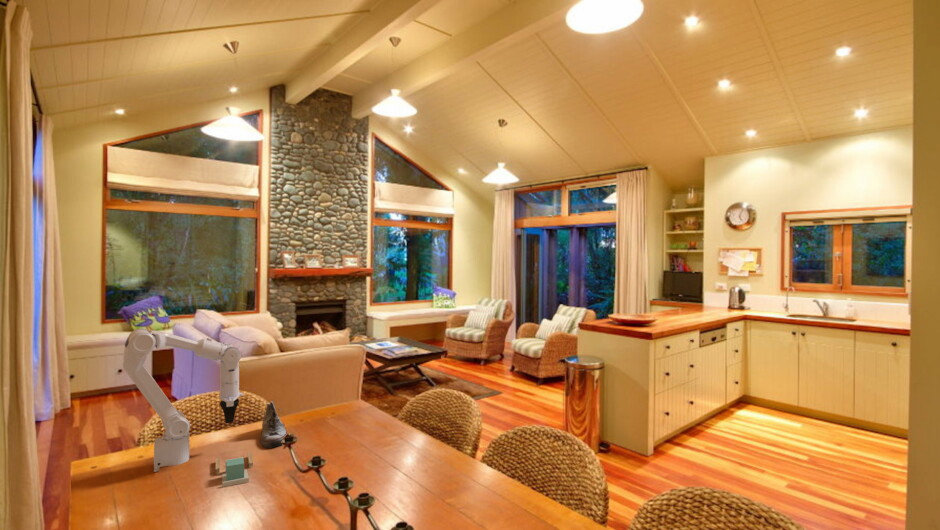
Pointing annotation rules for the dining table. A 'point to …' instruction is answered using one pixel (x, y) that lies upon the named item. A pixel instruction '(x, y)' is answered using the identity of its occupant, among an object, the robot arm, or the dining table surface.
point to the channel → (248, 461)
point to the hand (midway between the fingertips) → (229, 422)
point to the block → (234, 469)
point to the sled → (236, 481)
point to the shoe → (272, 428)
